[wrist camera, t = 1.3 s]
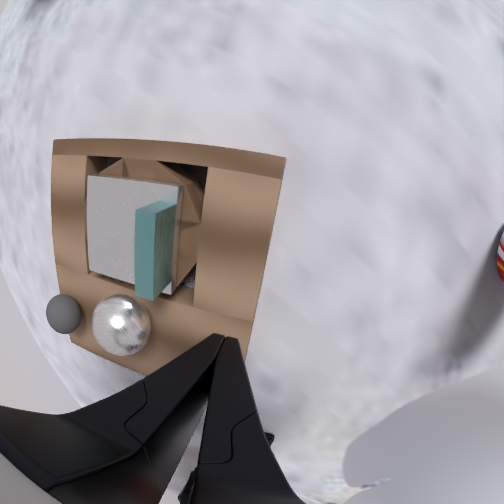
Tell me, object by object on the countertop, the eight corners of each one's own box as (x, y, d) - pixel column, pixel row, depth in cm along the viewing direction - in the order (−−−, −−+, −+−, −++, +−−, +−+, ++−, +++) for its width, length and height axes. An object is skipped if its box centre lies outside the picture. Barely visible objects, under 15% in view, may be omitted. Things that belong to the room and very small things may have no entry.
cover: (175, 289, 18) (153, 315, 15) (95, 266, 18) (67, 284, 15) (183, 185, 15) (157, 193, 12) (94, 174, 16) (61, 180, 13)
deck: (240, 383, 24) (234, 402, 22) (83, 329, 25) (71, 342, 23) (286, 157, 17) (285, 157, 14) (73, 138, 18) (53, 139, 16)
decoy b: (91, 326, 21) (69, 347, 18) (65, 314, 22) (44, 332, 18) (86, 294, 20) (61, 313, 17) (60, 283, 20) (35, 300, 17)
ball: (161, 339, 20) (136, 376, 16) (115, 323, 21) (85, 354, 16) (160, 292, 19) (129, 326, 14) (110, 277, 19) (74, 304, 15)
